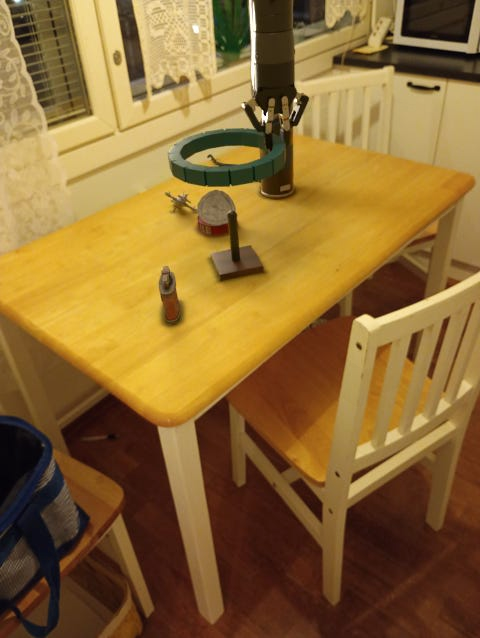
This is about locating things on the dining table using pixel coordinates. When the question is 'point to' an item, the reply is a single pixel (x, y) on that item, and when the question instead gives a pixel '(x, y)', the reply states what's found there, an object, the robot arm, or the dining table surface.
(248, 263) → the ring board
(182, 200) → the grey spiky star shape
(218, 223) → the canned food
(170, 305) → the lighter
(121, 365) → the dining table surface
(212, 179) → the ring
